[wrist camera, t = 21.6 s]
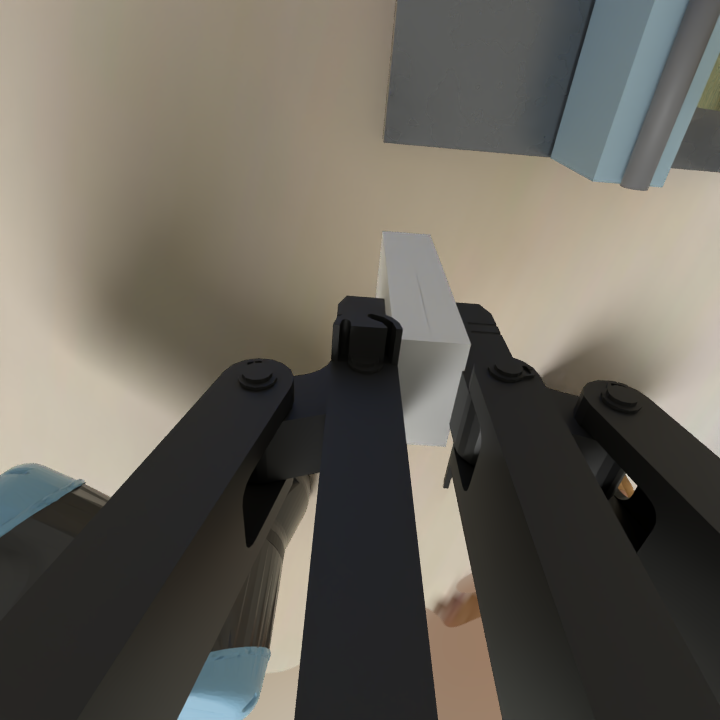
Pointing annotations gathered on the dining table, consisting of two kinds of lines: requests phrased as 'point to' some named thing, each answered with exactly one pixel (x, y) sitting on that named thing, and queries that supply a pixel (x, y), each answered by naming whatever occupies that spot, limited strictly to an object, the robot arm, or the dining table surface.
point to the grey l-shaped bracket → (499, 78)
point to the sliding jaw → (637, 88)
